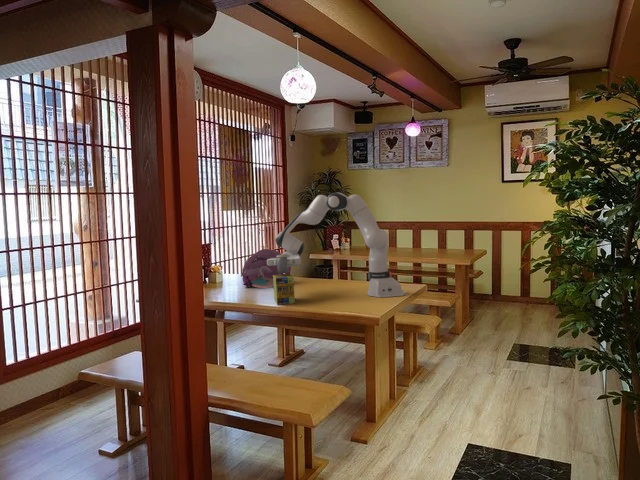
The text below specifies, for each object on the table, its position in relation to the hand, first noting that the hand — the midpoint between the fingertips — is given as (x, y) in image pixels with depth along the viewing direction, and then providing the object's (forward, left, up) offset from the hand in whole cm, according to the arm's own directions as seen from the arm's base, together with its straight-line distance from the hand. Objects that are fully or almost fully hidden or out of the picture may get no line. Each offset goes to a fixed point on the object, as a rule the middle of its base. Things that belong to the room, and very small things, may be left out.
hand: (282, 263), depth 289 cm
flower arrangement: (+24, -57, -23) cm, 66 cm away
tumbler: (0, -1, -5) cm, 6 cm away
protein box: (0, -1, -23) cm, 23 cm away
